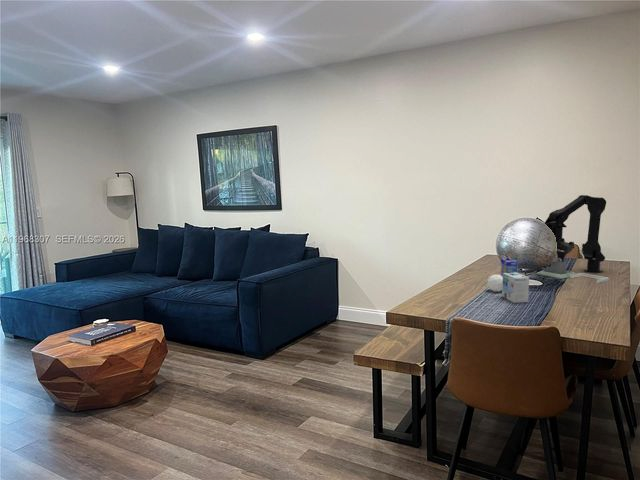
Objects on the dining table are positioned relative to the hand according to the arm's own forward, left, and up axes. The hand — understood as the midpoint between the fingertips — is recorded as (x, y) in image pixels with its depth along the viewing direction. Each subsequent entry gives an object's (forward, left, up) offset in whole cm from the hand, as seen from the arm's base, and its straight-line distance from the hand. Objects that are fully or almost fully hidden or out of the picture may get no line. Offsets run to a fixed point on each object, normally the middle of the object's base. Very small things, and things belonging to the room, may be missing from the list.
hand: (554, 265), depth 243 cm
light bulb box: (+56, +21, -5) cm, 60 cm away
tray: (0, 0, -5) cm, 5 cm away
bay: (-4, +16, -5) cm, 17 cm away
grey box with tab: (0, 0, -4) cm, 4 cm away
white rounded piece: (+51, +9, -5) cm, 52 cm away
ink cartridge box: (+36, +1, -5) cm, 36 cm away
